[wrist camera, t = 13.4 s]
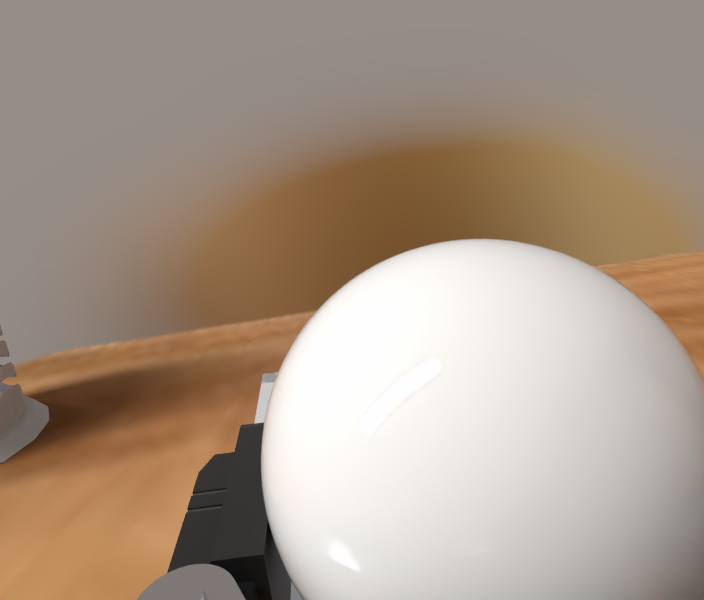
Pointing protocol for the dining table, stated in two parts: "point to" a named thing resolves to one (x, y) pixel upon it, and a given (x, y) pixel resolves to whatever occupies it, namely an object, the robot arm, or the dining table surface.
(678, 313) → the dining table surface
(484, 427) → the lightbulb
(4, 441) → the french press
